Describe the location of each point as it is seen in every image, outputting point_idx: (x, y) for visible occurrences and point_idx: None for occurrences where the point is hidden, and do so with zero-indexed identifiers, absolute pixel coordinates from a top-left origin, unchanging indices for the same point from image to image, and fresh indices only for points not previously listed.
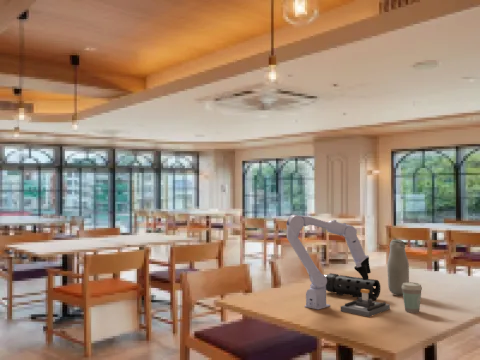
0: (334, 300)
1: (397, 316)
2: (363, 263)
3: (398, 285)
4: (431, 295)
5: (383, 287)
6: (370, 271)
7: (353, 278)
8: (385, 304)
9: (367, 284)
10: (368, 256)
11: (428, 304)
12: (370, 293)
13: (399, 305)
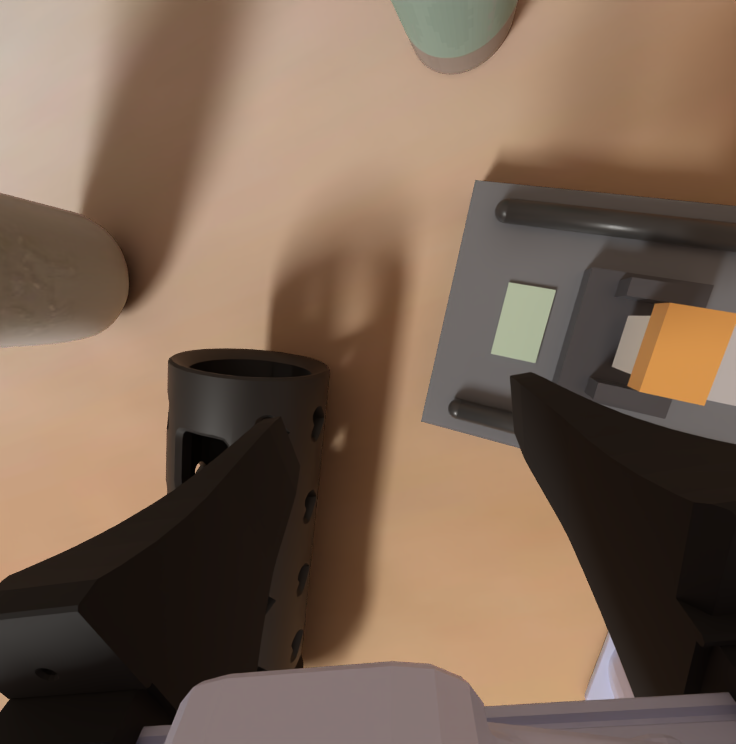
0: (436, 597)
1: (698, 35)
2: (230, 610)
3: (79, 248)
4: (24, 111)
5: (18, 408)
6: (259, 423)
7: None
8: (494, 209)
9: (192, 454)
10: (262, 686)
11: (216, 20)
12: (327, 387)
13: (340, 174)
